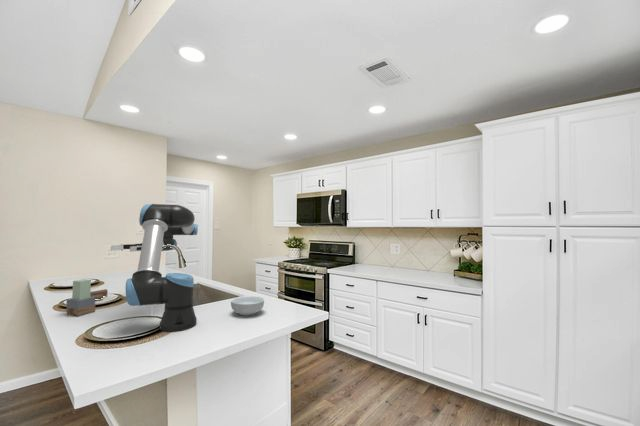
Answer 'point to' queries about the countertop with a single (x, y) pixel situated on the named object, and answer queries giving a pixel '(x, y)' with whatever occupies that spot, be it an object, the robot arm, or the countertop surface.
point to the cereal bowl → (247, 305)
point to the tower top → (80, 303)
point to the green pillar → (81, 289)
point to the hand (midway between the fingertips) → (120, 248)
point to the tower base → (80, 311)
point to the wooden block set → (99, 293)
